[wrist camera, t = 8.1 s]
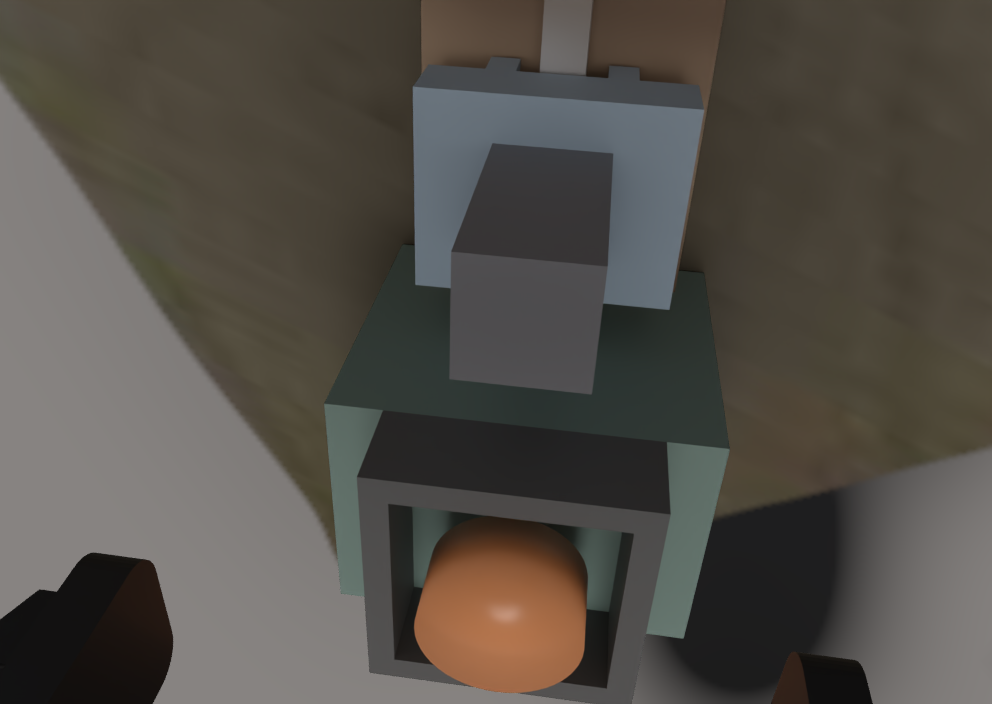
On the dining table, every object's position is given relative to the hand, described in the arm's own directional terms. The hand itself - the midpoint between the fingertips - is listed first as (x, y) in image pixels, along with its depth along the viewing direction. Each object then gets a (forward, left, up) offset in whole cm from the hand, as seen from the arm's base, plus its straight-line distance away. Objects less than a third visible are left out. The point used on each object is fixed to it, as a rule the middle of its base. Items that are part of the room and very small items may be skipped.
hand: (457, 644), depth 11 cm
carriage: (0, 0, -17) cm, 17 cm away
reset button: (+8, 0, -8) cm, 11 cm away
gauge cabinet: (+8, 0, -19) cm, 20 cm away
